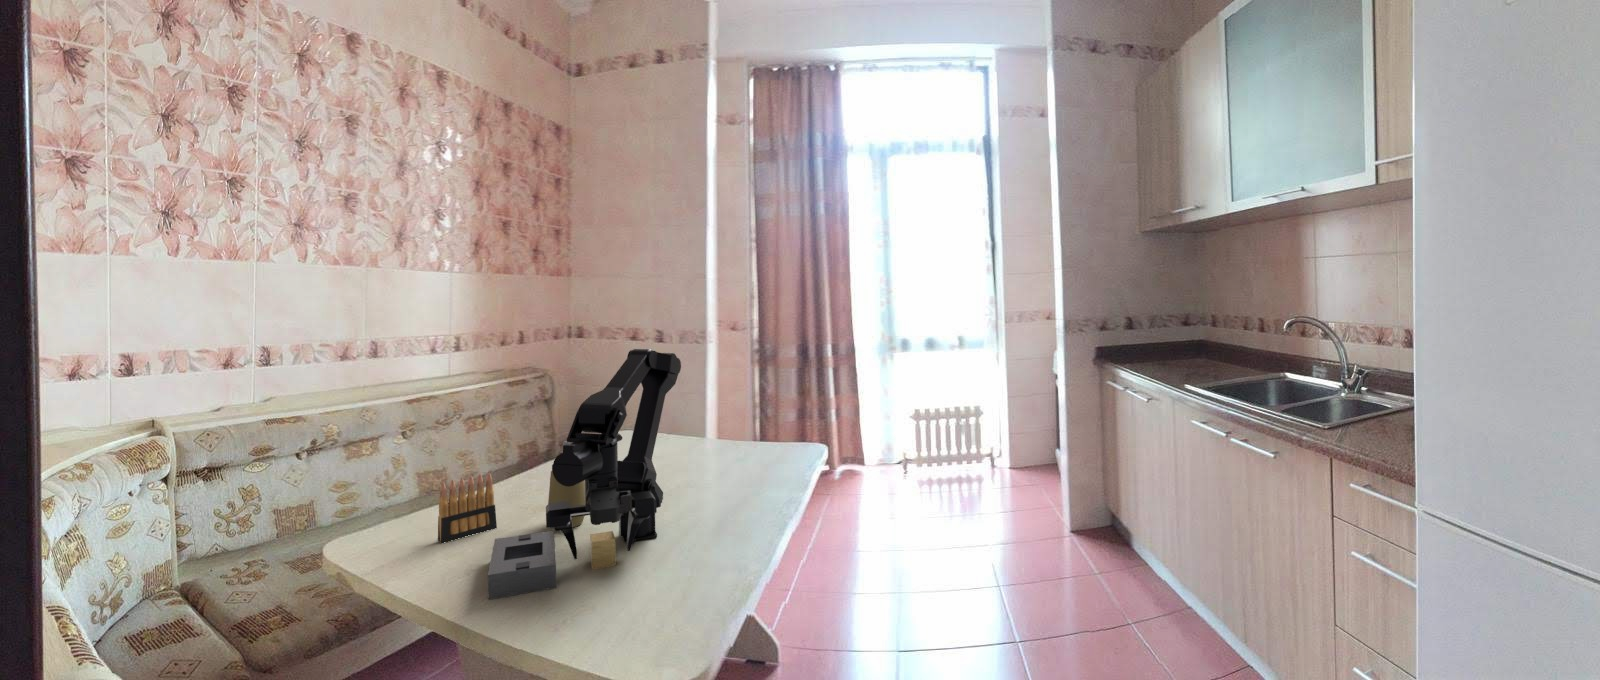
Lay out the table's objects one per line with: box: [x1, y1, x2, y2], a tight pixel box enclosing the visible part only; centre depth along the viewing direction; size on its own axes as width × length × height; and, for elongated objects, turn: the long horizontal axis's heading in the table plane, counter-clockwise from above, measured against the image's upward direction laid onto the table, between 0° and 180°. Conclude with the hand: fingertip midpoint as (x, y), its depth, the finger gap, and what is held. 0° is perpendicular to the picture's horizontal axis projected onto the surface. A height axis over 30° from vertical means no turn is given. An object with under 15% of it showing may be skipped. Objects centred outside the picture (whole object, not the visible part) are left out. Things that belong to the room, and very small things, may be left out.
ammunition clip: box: [437, 472, 498, 544], centre depth 121 cm, size 11×2×12 cm, turn 141°
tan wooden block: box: [589, 530, 616, 570], centre depth 108 cm, size 4×4×5 cm
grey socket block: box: [487, 530, 557, 601], centre depth 104 cm, size 10×16×4 cm, turn 24°
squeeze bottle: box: [547, 440, 585, 528], centre depth 126 cm, size 8×8×18 cm
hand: (602, 554), depth 108 cm, fingers open, 9 cm apart
